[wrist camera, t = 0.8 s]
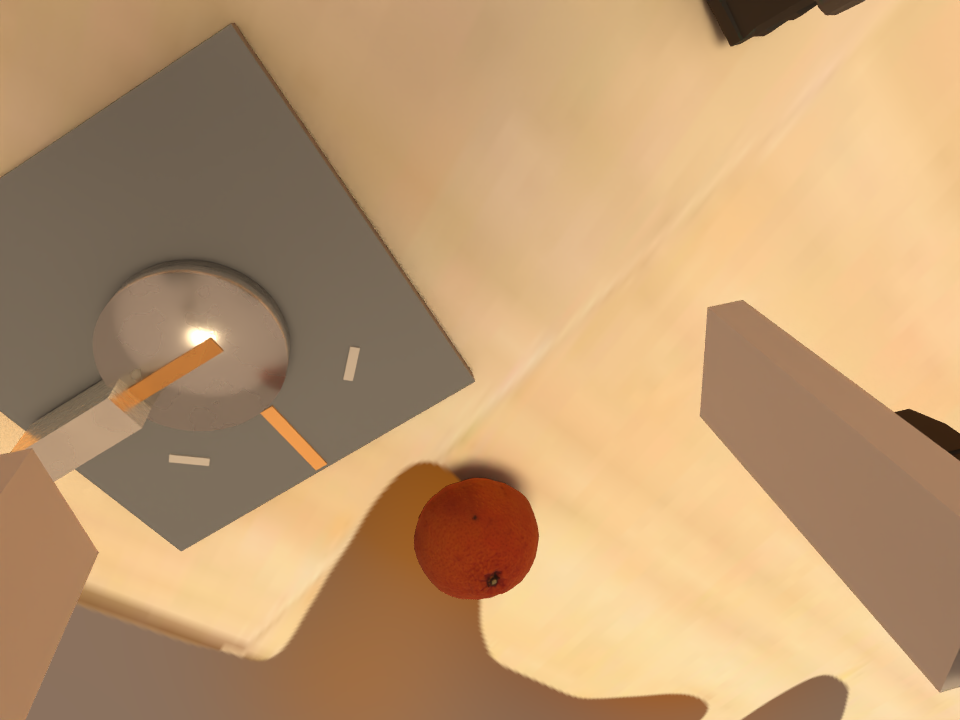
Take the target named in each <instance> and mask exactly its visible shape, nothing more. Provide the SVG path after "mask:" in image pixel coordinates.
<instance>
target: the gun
mask: <svg viewBox="0 0 960 720" xmlns="http://www.w3.org/2000/svg"><path fill="white" fill-rule="evenodd" d="M863 1H865V0H707V2H708V4H709V6H710V8H711V10H712V12H713V14H714V15H715V17H716V19H717V21H718V23H719V25H720V27H721V29H722V31H723V33H724V35H725V37H726V38H727V40H728V42H729V44H730V46H734V45H738V44H741V43H743V42H744V41H746V40H748V39H750V38H752V37H754V36H765V35H767V34H769V33H770V32H772V31H773V30H775V29H776V28H778V27H779V26H781V25H782V24H783V23H785V22H786V21H788V20H794V19H796V18H798V17H800V16H802V15H803V14H804V13H806V12H807V11H809V10H810V9H812V8H813V7H815V6H816V5H818V7H819V9H820V10H821V11H822V12H823V13H824V14H825V15H837V14H839V13H841V12H843V11H845V10H847V9H849V8H851V7H853V6H855V5H857V4H859V3H861V2H863Z"/></svg>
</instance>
